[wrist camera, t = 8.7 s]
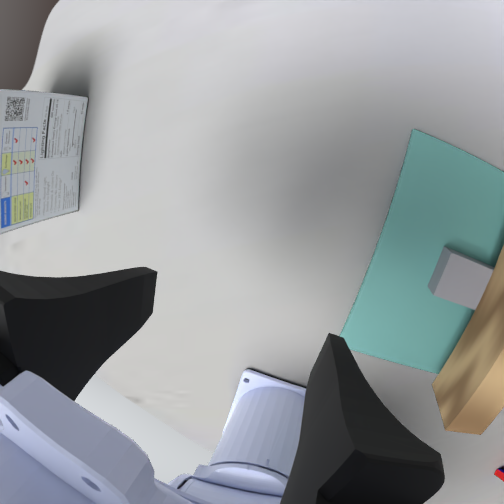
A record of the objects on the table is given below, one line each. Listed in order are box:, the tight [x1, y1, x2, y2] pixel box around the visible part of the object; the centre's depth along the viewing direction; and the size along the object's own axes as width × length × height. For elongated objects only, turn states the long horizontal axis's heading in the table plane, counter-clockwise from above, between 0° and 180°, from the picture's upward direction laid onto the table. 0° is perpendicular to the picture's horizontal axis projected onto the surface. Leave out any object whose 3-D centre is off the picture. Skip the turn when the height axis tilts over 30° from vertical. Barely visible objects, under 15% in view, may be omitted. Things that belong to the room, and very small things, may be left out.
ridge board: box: [340, 129, 504, 374], centre depth 17 cm, size 16×20×2 cm
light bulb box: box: [0, 89, 88, 234], centre depth 19 cm, size 11×7×11 cm, turn 171°
